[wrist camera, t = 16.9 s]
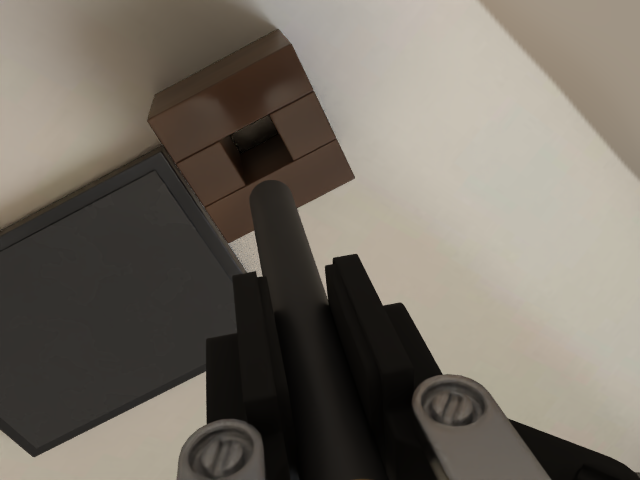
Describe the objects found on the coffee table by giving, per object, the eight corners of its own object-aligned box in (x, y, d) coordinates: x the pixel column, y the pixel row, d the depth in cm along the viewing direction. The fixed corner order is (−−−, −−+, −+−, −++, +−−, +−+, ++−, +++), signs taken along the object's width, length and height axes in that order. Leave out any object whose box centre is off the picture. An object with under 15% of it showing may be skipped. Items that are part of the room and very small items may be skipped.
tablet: (-132, 300, 27) (-143, 312, 26) (162, 144, 26) (161, 152, 25) (37, 445, 33) (32, 460, 32) (280, 323, 32) (283, 334, 31)
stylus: (240, 191, 18) (297, 562, 8) (281, 171, 18) (395, 518, 8) (260, 225, 19) (338, 605, 8) (300, 206, 18) (426, 566, 8)
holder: (153, 95, 25) (146, 120, 21) (278, 28, 24) (291, 43, 21) (224, 206, 28) (228, 244, 24) (336, 148, 27) (355, 178, 24)
